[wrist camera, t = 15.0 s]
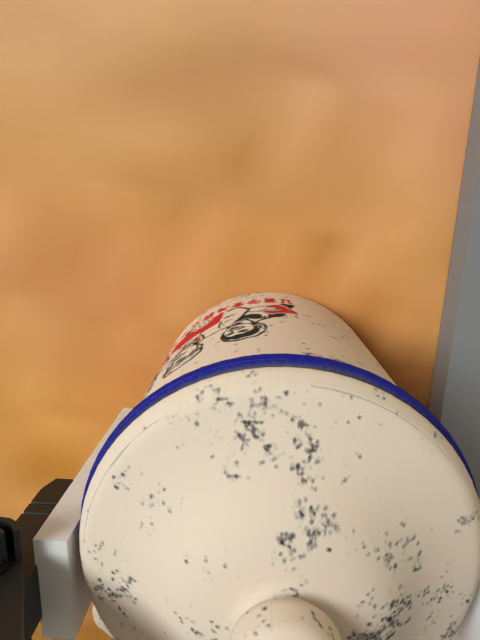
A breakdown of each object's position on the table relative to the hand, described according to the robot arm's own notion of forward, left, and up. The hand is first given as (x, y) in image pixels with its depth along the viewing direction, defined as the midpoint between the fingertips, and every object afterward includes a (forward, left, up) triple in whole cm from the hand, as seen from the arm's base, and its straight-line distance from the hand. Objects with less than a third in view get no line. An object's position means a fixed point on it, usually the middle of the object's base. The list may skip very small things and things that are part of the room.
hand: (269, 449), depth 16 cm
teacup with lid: (-1, 0, -3) cm, 3 cm away
